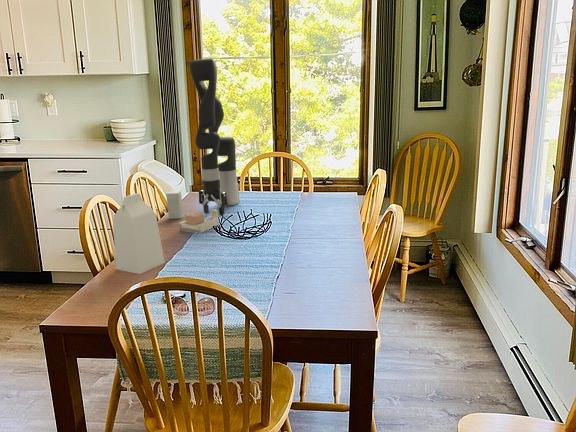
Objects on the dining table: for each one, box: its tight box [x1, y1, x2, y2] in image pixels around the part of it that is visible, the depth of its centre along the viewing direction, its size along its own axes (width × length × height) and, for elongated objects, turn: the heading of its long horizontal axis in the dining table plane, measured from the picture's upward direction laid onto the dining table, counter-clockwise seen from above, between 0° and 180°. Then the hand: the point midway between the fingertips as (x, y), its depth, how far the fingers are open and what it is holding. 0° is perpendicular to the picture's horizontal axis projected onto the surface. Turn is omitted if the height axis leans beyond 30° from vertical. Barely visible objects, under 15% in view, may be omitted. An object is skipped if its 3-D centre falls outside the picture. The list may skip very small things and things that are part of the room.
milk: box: [112, 192, 166, 275], centre depth 197 cm, size 12×12×26 cm
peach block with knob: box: [184, 209, 219, 226], centre depth 244 cm, size 17×6×6 cm, turn 148°
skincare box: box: [165, 190, 185, 219], centre depth 260 cm, size 6×4×12 cm
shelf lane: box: [179, 216, 220, 234], centre depth 242 cm, size 13×11×4 cm
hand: (214, 214), depth 250 cm, fingers open, 8 cm apart
